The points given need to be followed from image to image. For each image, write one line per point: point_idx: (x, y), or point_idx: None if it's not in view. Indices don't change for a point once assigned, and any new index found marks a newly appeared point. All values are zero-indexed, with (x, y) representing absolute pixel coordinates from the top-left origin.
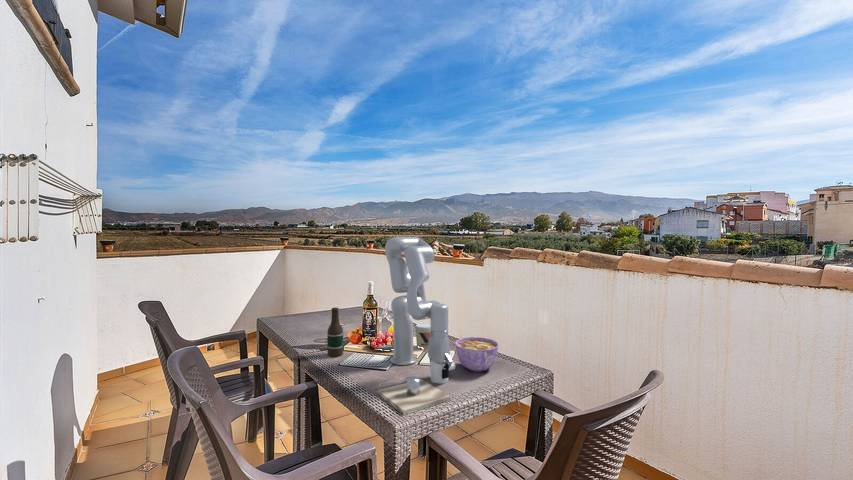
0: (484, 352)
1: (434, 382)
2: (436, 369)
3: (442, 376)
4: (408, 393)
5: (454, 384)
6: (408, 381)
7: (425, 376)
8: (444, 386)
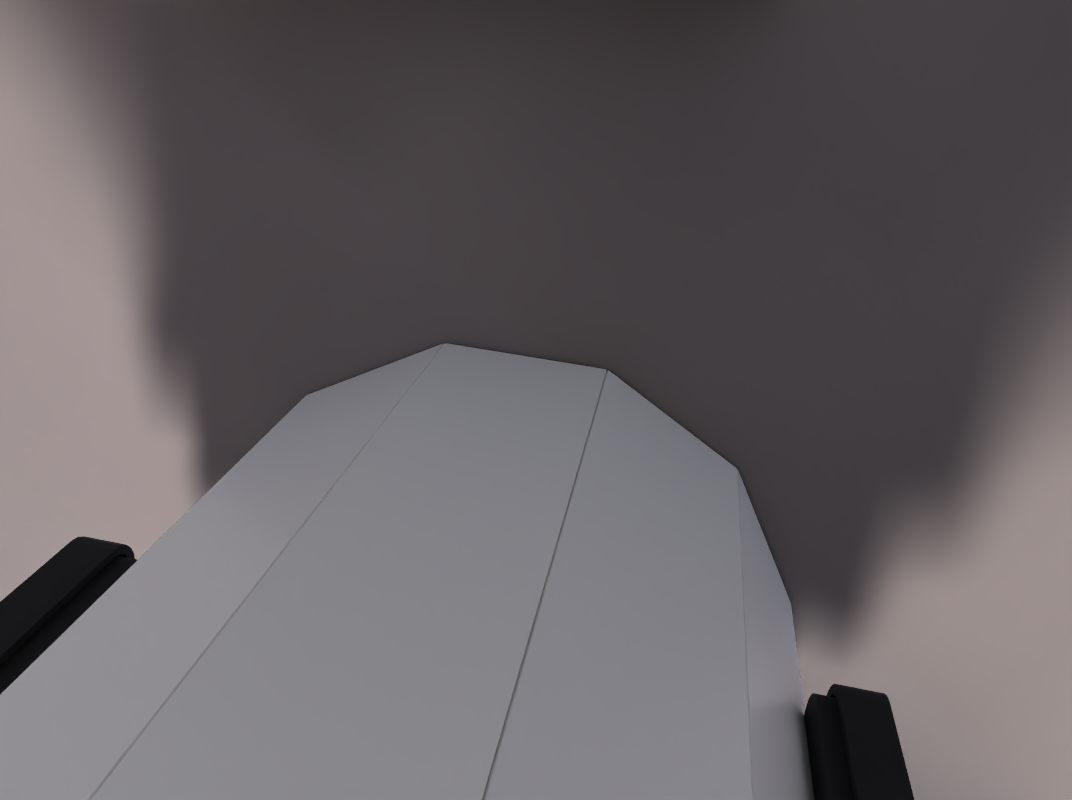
0: None
1: (423, 354)
2: (100, 650)
3: (37, 572)
4: None
5: None
6: None
7: (1062, 514)
8: (25, 368)
